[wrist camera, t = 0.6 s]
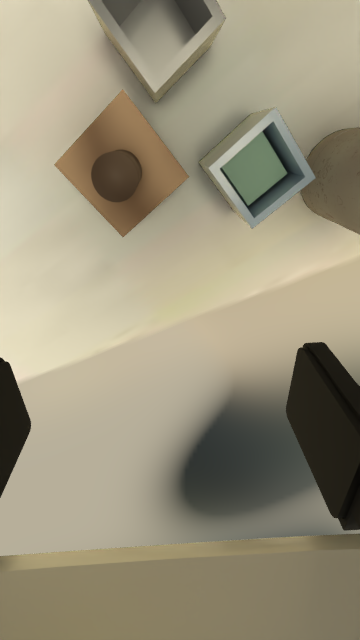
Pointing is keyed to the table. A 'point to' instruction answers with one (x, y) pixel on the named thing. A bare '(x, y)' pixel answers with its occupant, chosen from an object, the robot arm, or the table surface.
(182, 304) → the table surface
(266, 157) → the green cube
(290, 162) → the square blue-grey bin
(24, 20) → the table surface
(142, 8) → the grey open storage bin
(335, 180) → the thermos bottle
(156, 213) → the table surface
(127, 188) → the lid
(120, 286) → the table surface
